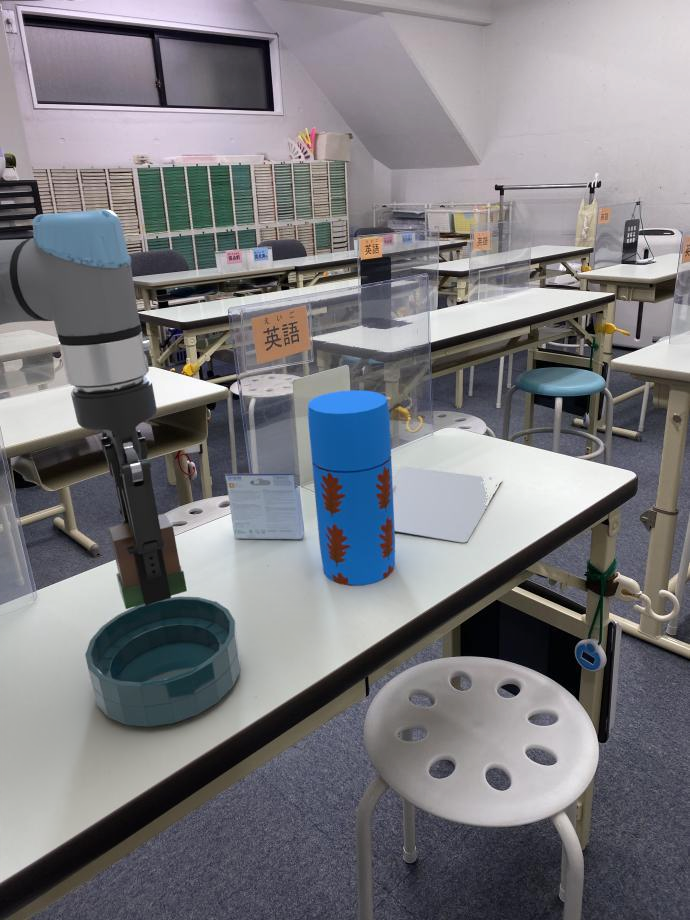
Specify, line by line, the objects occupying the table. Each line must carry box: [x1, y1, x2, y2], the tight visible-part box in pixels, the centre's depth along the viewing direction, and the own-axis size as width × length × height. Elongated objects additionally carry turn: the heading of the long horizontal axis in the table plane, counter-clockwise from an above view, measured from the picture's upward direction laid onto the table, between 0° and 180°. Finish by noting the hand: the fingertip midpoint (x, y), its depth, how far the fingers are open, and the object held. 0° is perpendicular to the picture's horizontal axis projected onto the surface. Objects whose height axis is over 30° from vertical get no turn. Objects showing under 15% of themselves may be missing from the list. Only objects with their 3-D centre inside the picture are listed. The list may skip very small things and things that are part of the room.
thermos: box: [307, 389, 396, 586], centre depth 95 cm, size 11×11×25 cm
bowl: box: [85, 596, 241, 728], centre depth 78 cm, size 16×16×6 cm
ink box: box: [224, 472, 306, 540], centre depth 108 cm, size 12×2×12 cm, turn 80°
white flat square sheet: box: [392, 466, 491, 544], centre depth 119 cm, size 25×24×1 cm
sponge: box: [108, 513, 188, 610], centre depth 73 cm, size 4×6×8 cm, turn 116°
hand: (153, 590), depth 74 cm, fingers closed on sponge, 4 cm apart
